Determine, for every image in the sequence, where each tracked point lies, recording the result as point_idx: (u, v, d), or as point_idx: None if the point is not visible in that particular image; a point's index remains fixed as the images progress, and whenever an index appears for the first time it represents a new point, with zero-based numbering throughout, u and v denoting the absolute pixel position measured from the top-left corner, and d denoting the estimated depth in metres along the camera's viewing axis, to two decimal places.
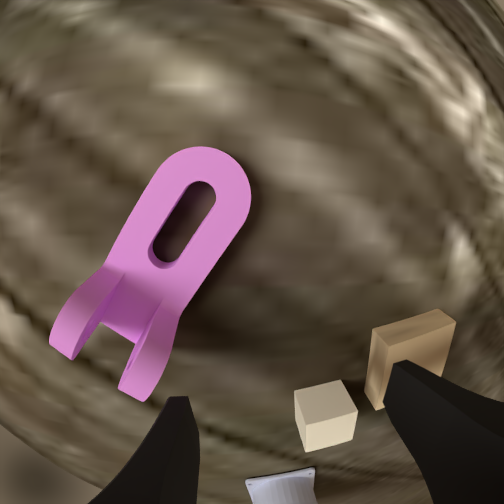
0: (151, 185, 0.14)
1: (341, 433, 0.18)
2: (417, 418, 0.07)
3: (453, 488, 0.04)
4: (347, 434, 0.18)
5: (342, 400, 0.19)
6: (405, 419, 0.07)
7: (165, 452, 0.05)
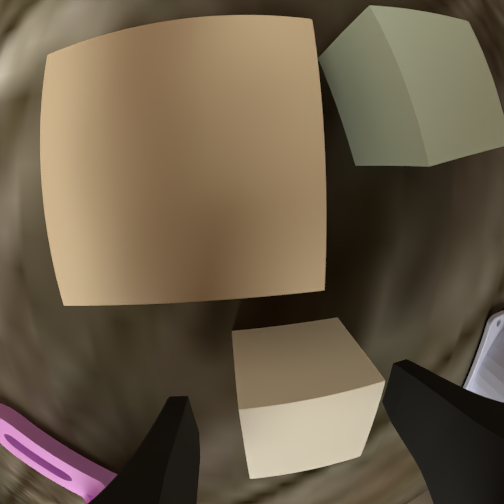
0: (22, 460, 0.10)
1: (330, 419, 0.07)
2: (417, 418, 0.07)
3: (453, 487, 0.04)
4: (345, 405, 0.07)
5: None
6: (405, 419, 0.07)
7: (165, 452, 0.05)
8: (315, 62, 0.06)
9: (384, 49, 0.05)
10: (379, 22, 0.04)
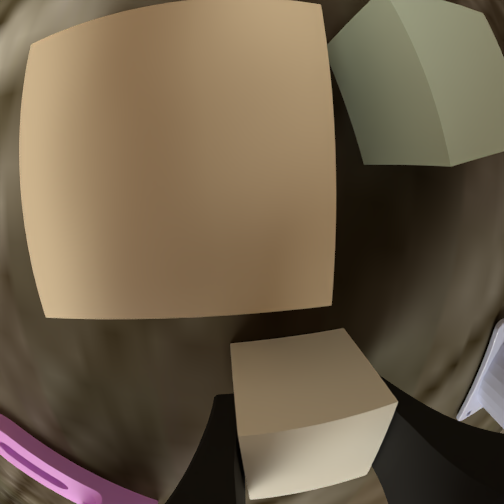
0: (18, 467, 0.10)
1: (337, 442, 0.06)
2: None
3: None
4: (354, 427, 0.06)
5: None
6: None
7: (228, 451, 0.05)
8: (324, 50, 0.05)
9: (400, 35, 0.04)
10: (394, 6, 0.03)
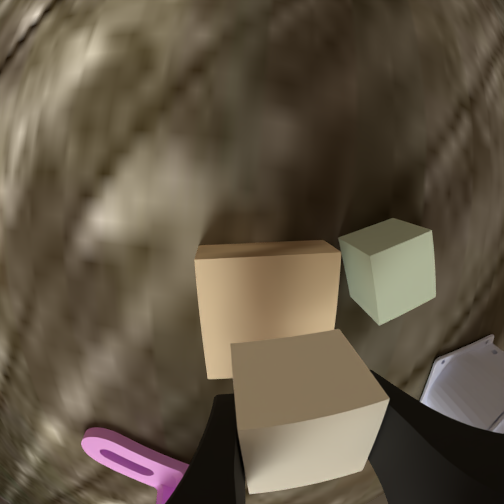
0: (108, 466, 0.19)
1: (332, 437, 0.06)
2: None
3: None
4: (348, 423, 0.06)
5: None
6: None
7: (228, 451, 0.05)
8: (338, 275, 0.14)
9: (370, 276, 0.13)
10: (371, 266, 0.12)
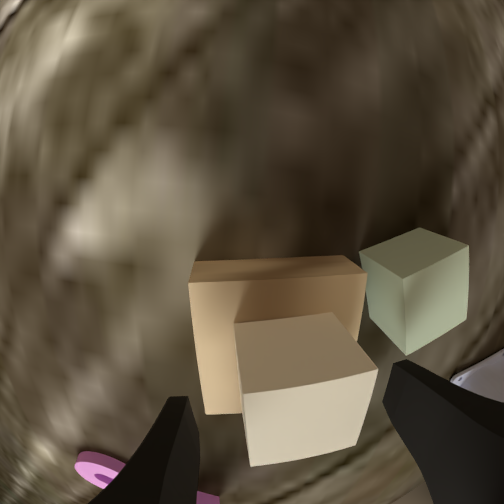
0: None
1: (327, 405, 0.07)
2: (417, 418, 0.07)
3: (454, 487, 0.04)
4: (341, 391, 0.07)
5: None
6: (405, 419, 0.07)
7: (165, 452, 0.05)
8: (362, 300, 0.11)
9: (401, 301, 0.10)
10: (404, 291, 0.10)
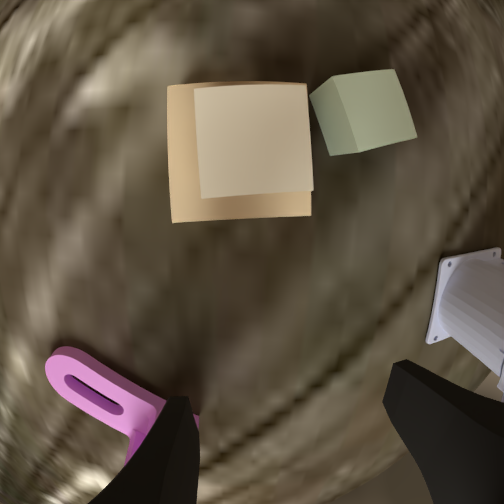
0: (75, 404, 0.18)
1: (266, 111, 0.09)
2: (417, 418, 0.07)
3: (454, 488, 0.04)
4: (276, 99, 0.09)
5: None
6: (405, 419, 0.07)
7: (165, 452, 0.05)
8: None
9: (338, 98, 0.12)
10: (336, 85, 0.11)
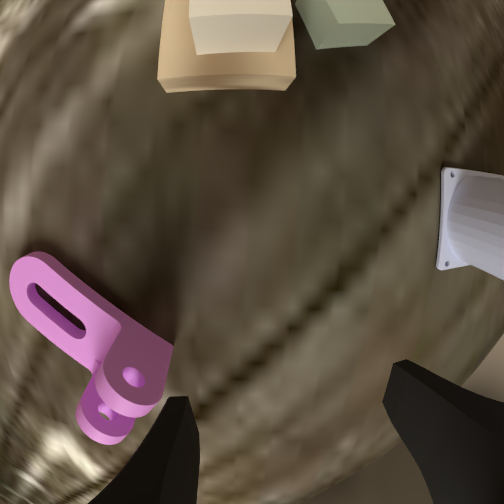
0: (36, 326, 0.16)
1: None
2: (417, 418, 0.07)
3: (454, 487, 0.04)
4: None
5: None
6: (405, 419, 0.07)
7: (165, 452, 0.05)
8: None
9: None
10: None
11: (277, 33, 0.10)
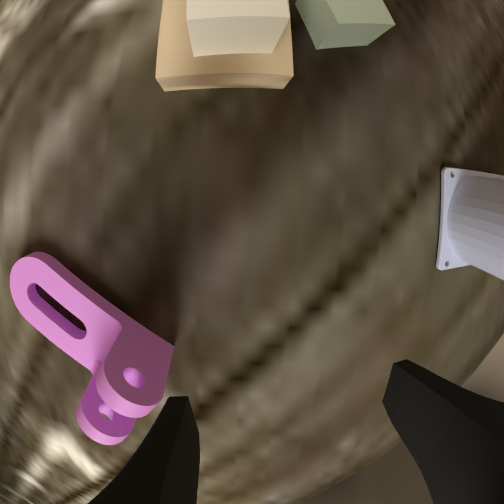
0: (36, 326, 0.16)
1: None
2: (417, 418, 0.07)
3: (454, 487, 0.04)
4: None
5: None
6: (405, 419, 0.07)
7: (165, 452, 0.05)
8: None
9: None
10: None
11: (274, 35, 0.10)
